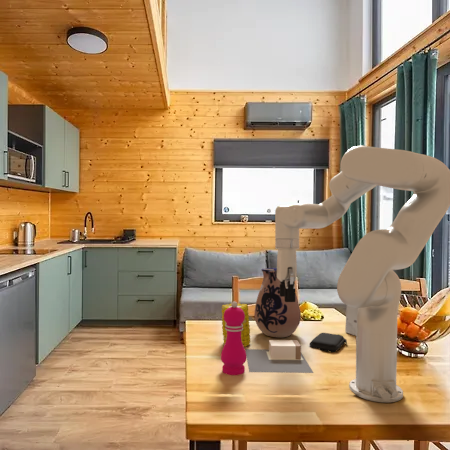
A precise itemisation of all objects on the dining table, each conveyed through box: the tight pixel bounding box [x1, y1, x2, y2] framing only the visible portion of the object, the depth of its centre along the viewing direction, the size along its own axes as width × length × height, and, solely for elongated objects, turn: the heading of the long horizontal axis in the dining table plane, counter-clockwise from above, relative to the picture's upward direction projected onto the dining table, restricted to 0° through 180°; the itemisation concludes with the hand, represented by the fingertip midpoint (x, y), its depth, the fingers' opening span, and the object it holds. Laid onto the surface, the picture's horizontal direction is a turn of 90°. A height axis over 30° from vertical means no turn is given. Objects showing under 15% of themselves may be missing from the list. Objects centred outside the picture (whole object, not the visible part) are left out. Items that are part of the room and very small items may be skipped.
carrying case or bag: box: [309, 332, 348, 353], centre depth 135 cm, size 11×3×15 cm
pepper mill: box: [220, 301, 247, 376], centre depth 109 cm, size 7×7×20 cm
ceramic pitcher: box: [253, 267, 302, 339], centre depth 149 cm, size 18×21×25 cm
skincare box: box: [345, 305, 359, 337], centre depth 150 cm, size 6×4×12 cm
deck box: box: [268, 339, 302, 359], centre depth 122 cm, size 9×6×4 cm
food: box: [221, 303, 251, 348], centre depth 134 cm, size 15×12×10 cm
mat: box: [244, 348, 314, 374], centre depth 118 cm, size 20×18×1 cm
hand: (287, 299), depth 122 cm, fingers open, 9 cm apart
